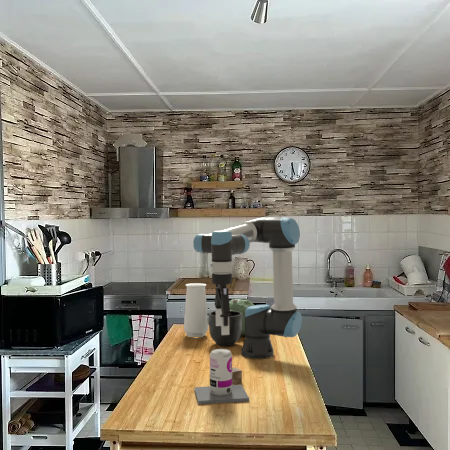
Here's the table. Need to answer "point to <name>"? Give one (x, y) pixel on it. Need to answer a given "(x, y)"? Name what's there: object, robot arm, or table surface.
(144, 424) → the table surface
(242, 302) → the cabbage
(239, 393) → the slate board
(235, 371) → the walnut block
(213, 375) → the supplement can
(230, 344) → the planter
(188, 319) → the vase
